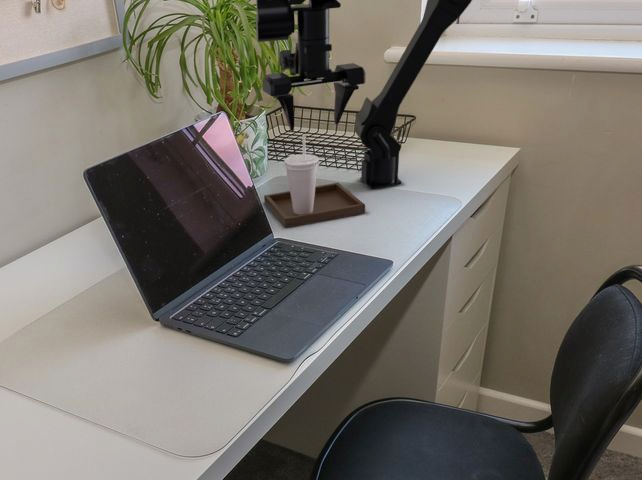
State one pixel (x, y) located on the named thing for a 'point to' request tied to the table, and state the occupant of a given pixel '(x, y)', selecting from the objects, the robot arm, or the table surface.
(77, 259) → the table surface
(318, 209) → the tray
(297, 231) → the table surface
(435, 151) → the table surface
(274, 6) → the robot arm
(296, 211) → the smoothie
